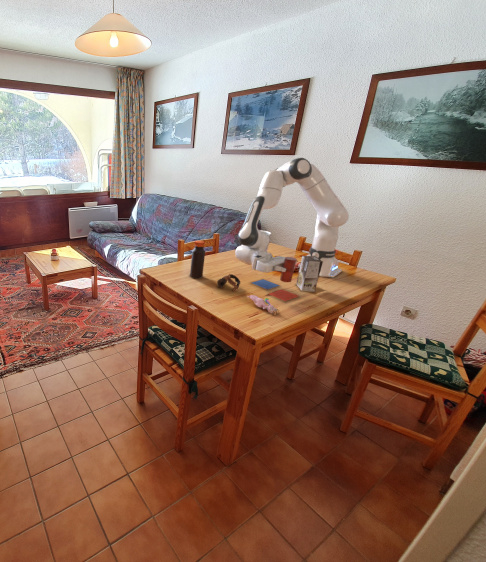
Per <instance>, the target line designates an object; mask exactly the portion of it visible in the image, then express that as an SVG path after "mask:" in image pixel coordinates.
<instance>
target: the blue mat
mask: <svg viewBox="0 0 486 562" xmlns="http://www.w3.org/2000/svg"><path fill="white" fill-rule="evenodd" d="M251 284H253V285H255V286H257V287H260V288H263V289H265V290H270V289H275V288H277V287H280V286H281V285H279V284H277V283H274V282H272V281H270V280H268V279H267V280H266V279H259V280H256V281H251Z"/></svg>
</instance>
